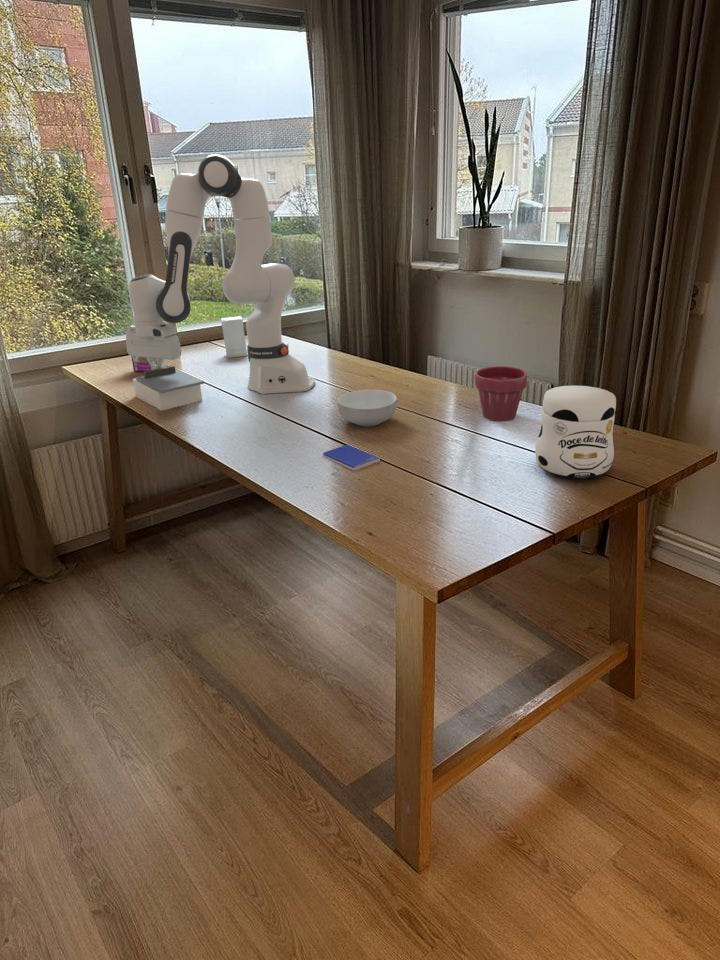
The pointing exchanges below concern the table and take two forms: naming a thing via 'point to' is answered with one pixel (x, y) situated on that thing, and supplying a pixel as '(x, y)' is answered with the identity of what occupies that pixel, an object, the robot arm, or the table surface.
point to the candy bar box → (142, 362)
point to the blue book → (351, 457)
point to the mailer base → (167, 396)
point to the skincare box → (234, 336)
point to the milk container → (576, 432)
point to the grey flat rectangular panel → (168, 379)
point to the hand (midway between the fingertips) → (156, 370)
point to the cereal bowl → (367, 406)
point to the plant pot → (500, 391)
